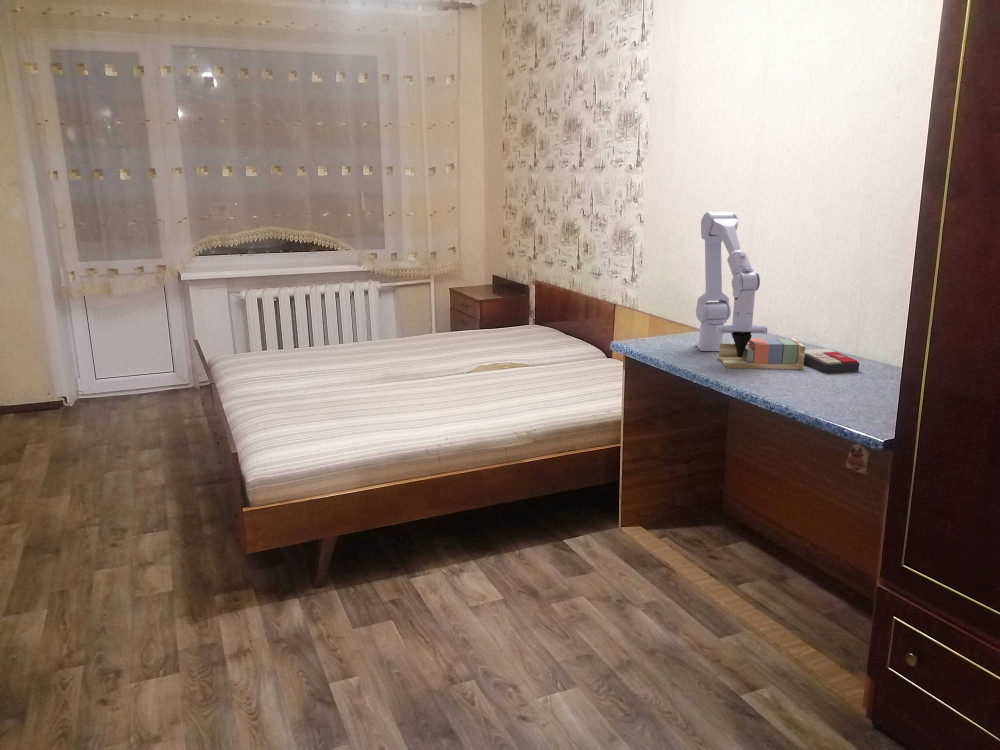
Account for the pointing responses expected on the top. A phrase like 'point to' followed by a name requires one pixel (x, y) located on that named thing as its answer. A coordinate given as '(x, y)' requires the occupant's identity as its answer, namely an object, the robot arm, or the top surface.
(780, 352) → the book
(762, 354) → the orange rectangular block
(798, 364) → the shelf
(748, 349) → the bookend
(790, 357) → the book
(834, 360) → the calculator
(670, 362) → the top surface
